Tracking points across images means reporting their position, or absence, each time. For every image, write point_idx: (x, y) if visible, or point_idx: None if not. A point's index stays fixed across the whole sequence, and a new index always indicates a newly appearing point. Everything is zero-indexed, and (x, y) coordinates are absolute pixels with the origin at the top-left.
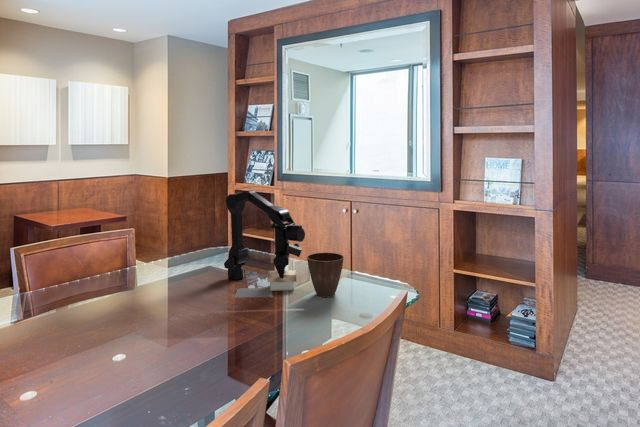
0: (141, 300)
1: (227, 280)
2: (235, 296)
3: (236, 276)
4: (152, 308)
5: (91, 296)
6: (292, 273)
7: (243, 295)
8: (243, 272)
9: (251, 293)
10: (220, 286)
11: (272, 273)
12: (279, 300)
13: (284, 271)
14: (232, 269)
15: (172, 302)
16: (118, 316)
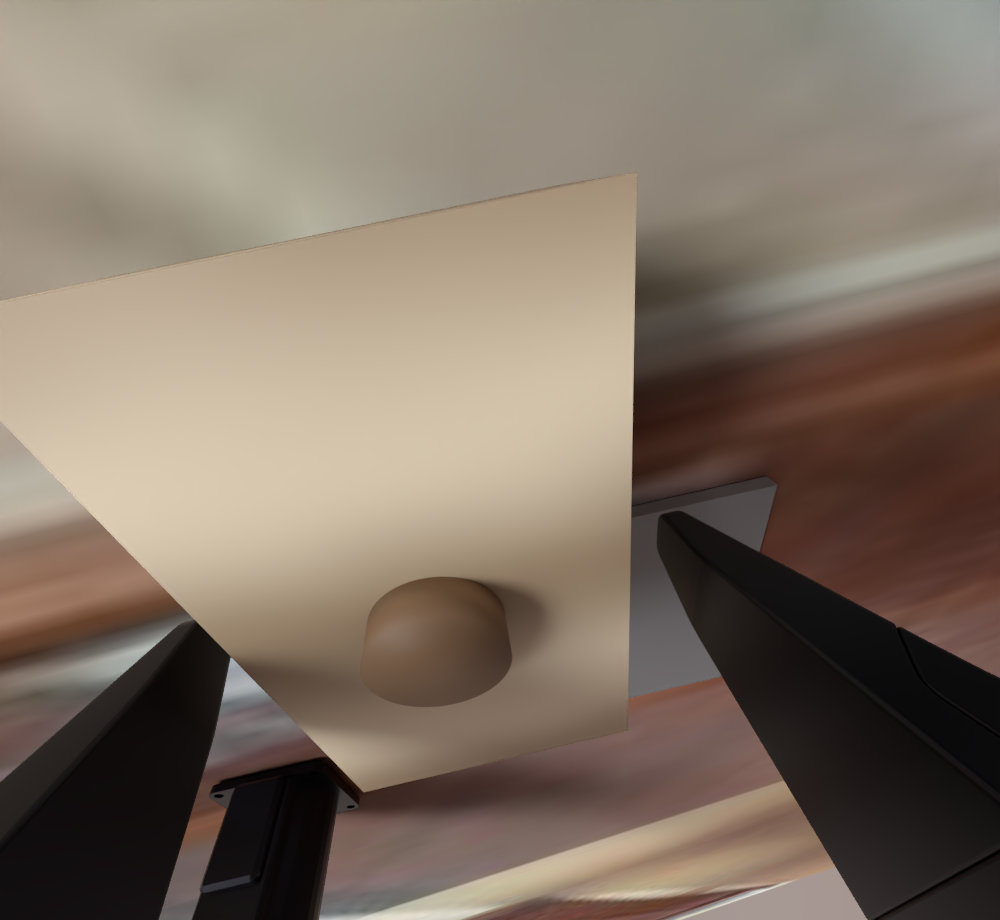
0: (662, 849)
1: (355, 808)
2: (702, 678)
3: (319, 823)
4: (760, 806)
5: (608, 905)
6: (453, 374)
7: (691, 652)
8: (231, 843)
9: (649, 628)
10: (461, 785)
11: (509, 722)
12: (871, 358)
13: (464, 618)
14: (317, 917)
15: (706, 799)
16: (807, 820)
